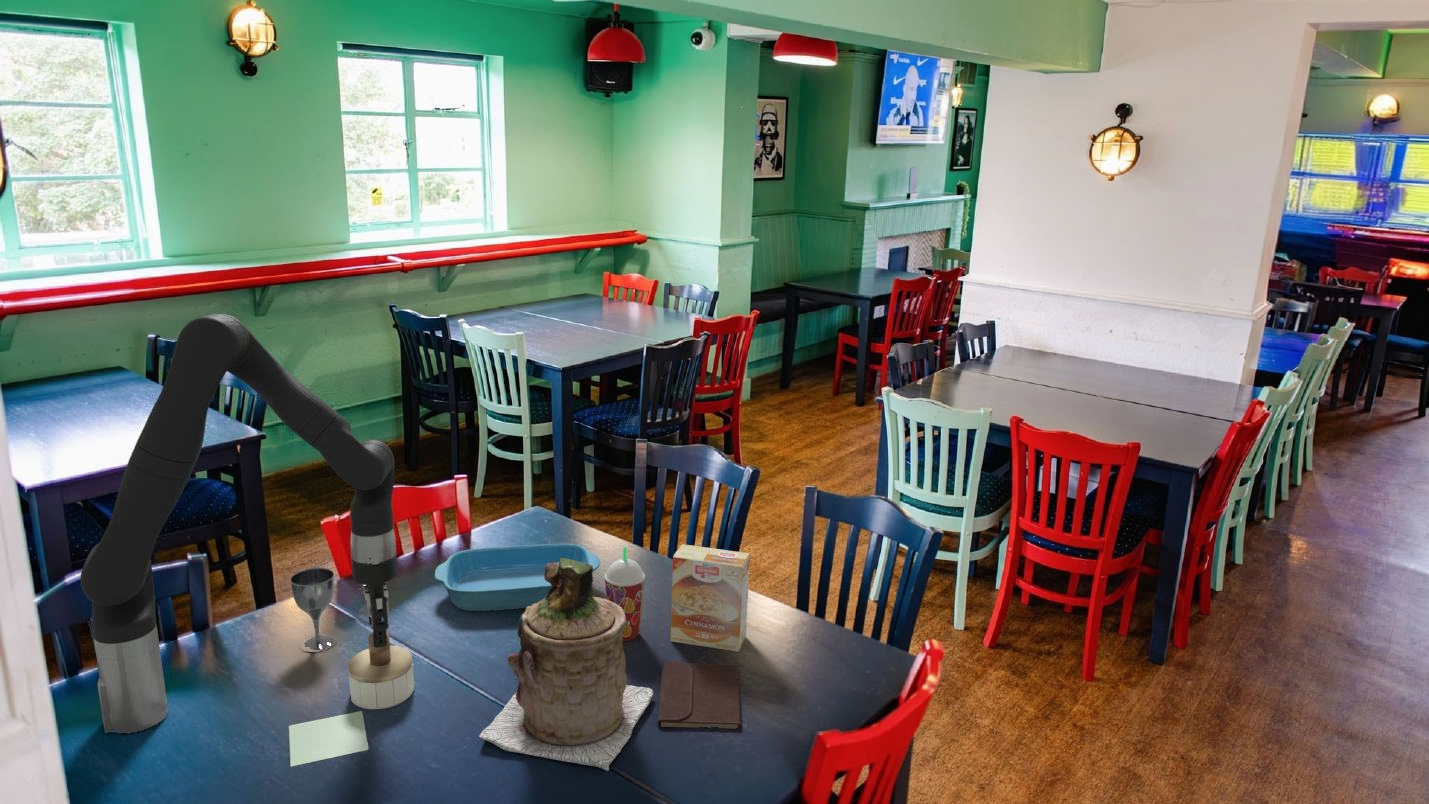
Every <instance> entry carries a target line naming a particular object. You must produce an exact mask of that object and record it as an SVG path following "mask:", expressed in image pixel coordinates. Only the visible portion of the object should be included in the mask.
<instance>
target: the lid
mask: <svg viewBox="0 0 1429 804" xmlns="http://www.w3.org/2000/svg"><path fill="white" fill-rule="evenodd" d="M386 633H387V645H386V646H385V647H379V648H375V647H374V643H373V632H372V633H371V634H369V635H368V648H366V649H364V650H362V651H359V652H358V653H356V654H355V655H354V656H353V657H352V658H350V659H349V661H348V669H349V670H348V675H349V674H350V676H351V677H352V678H353V679H355V680H357V681H360V682H364V683H381V682H386V681H390V680H393V679H396V678H398V677H400V676H402V675H404V674H405V673H406V672H408V671H409V669H410V668H411V666H412V663H413V655H412V653H411V652H410V651H409V649H407V648H405V647H402V646H398V645H391V641H390V634H389V632H388V631H386Z"/></svg>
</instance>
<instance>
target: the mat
mask: <svg viewBox="0 0 1429 804" xmlns="http://www.w3.org/2000/svg"><path fill="white" fill-rule="evenodd" d="M365 726H366V725H365V720H364V715H363V710H360V711H355V712H351V713H345V714H340V715H335V716H330V717H324V718H319V719H315V720H311V721H305V722H301V723H296V724H291V725H288V733H289V734H288V735H289V738H288V739H289V756H290V757H289V759H290V767H291V768H292V767H296V766H301V765H305V764H311V763H315V762H319V761H324V760H328V759H333V758H337V757H338V758H339V757H342V756H347V755H350V754H355V753H361V752H365V751H369V742H368V739H367V732H366V727H365Z"/></svg>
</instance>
